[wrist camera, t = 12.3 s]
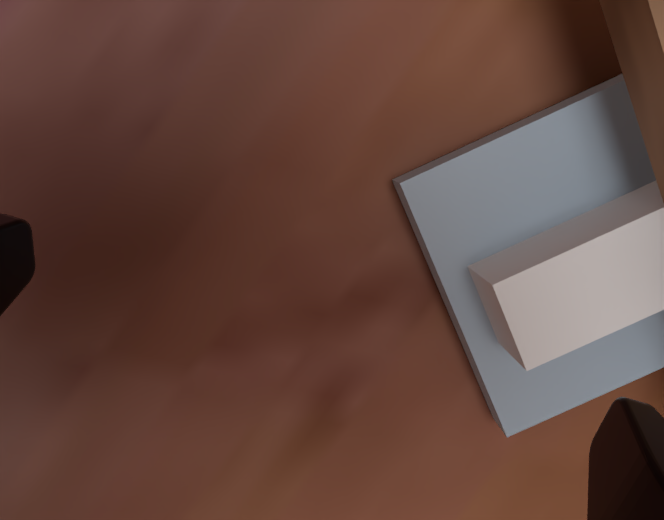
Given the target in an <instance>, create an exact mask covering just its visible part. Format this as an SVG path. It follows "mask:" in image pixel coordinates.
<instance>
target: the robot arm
mask: <svg viewBox="0 0 664 520" xmlns="http://www.w3.org/2000/svg"><path fill="white" fill-rule="evenodd" d="M34 271H35V257H34V247H33V238H32V230H31V227H30V225H29V223H28V222H27V221H25V220H23V219H20V218H16V217H13V216H10V215H6V214H0V316H1V315H2V314H3V312H4V311H5V310H6V309H7V308H8V306H9V305H10V304H11V303H12V302H13V301H14V299H15V298H16V297H17V296H18V295H19V293H20V292H21V291H22V290H23V289H24V288H25V286H26V285H27V284H28V283H29V282H30V280H31V278H32V277H33V274H34ZM587 520H664V418H663V417H662V416H661V415H660V414H659V413H658V412H657V411H656V410H655V409H654V408H653V407H652V406H651V405H649V404H646V403H643V402H639V401H636V400H632V399H629V398H626V397H620V398H617V399H616V400H615V401H614V402H613V403H612V405H611V407H610V408H609V410H608V412H607V414H606V416H605V418H604V420H603V421H602V423H601V425H600V427H599V429H598V431H597V432H596V434H595V436H594V438H593V441H592V443H591V447H590V453H589V479H588V514H587Z"/></svg>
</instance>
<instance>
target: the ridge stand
mask: <svg viewBox="0 0 664 520" xmlns="http://www.w3.org/2000/svg"><path fill="white" fill-rule="evenodd" d="M392 181H393V184H394V186H395V188H396V191H397V193H398V195H399V198H400V200H401V202H402V205H403V207H404V209H405V212H406V214H407V216H408V219H409V221H410V224H411V226H412V228H413V231H414V233H415V235H416V238H417V240H418V242H419V245H420V247H421V249H422V252H423V254H424V256H425V259H426V261H427V264H428V266H429V268H430V271H431V273H432V275H433V278H434V280H435V282H436V285H437V287H438V289H439V292H440V294H441V296H442V299H443V301H444V304H445V306H446V308H447V311H448V313H449V315H450V318H451V320H452V322H453V325H454V327H455V329H456V332H457V334H458V336H459V339H460V341H461V344H462V346H463V348H464V351H465V353H466V355H467V358H468V360H469V362H470V365H471V367H472V369H473V372H474V374H475V376H476V379H477V381H478V384H479V386H480V388H481V391H482V393H483V395H484V398H485V400H486V402H487V405H488V407H489V409H490V412H491V414H492V416H493V418H494V420H495V421H496V423H497V424H498V425H499V427H500V428H501V430H502V431H503V432H504V434H505V435H506V437H509V436H511V435H514V434H516V433H518V432H520V431H522V430H525V429H527V428H529V427H531V426H534V425H536V424H538V423H540V422H543V421H545V420H547V419H549V418H552V417H554V416H556V415H558V414H561V413H563V412H565V411H567V410H569V409H572V408H574V407H576V406H578V405H581V404H583V403H585V402H587V401H590V400H592V399H594V398H596V397H599V396H601V395H603V394H605V393H608V392H610V391H612V390H614V389H616V388H619V387H621V386H623V385H625V384H628V383H630V382H632V381H634V380H637V379H639V378H641V377H643V376H646V375H648V374H650V373H652V372H654V371H657V370H659V369H661V368H663V367H664V203H663V200H662V197H661V194H660V190H659V187H658V184H657V181H656V178H655V175H654V172H653V168H652V165H651V162H650V159H649V156H648V153H647V149H646V146H645V143H644V140H643V137H642V134H641V131H640V127H639V124H638V121H637V118H636V115H635V112H634V108H633V105H632V102H631V99H630V96H629V93H628V90H627V86H626V83H625V80H624V77H623V74H620V75H618V76H616V77H614V78H612V79H609V80H607V81H605V82H603V83H601V84H599V85H596V86H594V87H592V88H590V89H588V90H586V91H583V92H581V93H579V94H577V95H575V96H572V97H570V98H568V99H566V100H564V101H562V102H559V103H557V104H555V105H553V106H551V107H549V108H546V109H544V110H542V111H540V112H538V113H536V114H533V115H531V116H529V117H527V118H525V119H523V120H520V121H518V122H516V123H514V124H512V125H510V126H507V127H505V128H503V129H501V130H499V131H496V132H494V133H492V134H490V135H488V136H486V137H483V138H481V139H479V140H477V141H475V142H473V143H470V144H468V145H466V146H464V147H462V148H460V149H457V150H455V151H453V152H451V153H449V154H447V155H444V156H442V157H440V158H438V159H436V160H434V161H431V162H429V163H427V164H425V165H423V166H420V167H418V168H416V169H414V170H412V171H410V172H407V173H405V174H403V175H401V176H399V177H397V178H394V179H392Z"/></svg>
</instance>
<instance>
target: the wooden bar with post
mask: <svg viewBox="0 0 664 520" xmlns="http://www.w3.org/2000/svg"><path fill="white" fill-rule="evenodd" d="M599 1H600V4H601V8H602V11H603V14H604V17H605V20H606V23H607V27H608V30H609V33H610V36H611V39H612V42H613V45H614V49H615V52H616V55H617V58H618V61H619V64H620V67H621V71H622V74H623V77H624V80H625V83H626V86H627V90H628V93H629V96H630V99H631V102H632V105H633V108H634V112H635V115H636V118H637V121H638V124H639V127H640V131H641V134H642V137H643V140H644V143H645V146H646V149H647V153H648V156H649V159H650V162H651V165H652V168H653V172H654V175H655V178H656V181H657V184H658V187H659V190H660V194H661V197H662V200H663V203H664V0H599Z"/></svg>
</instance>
